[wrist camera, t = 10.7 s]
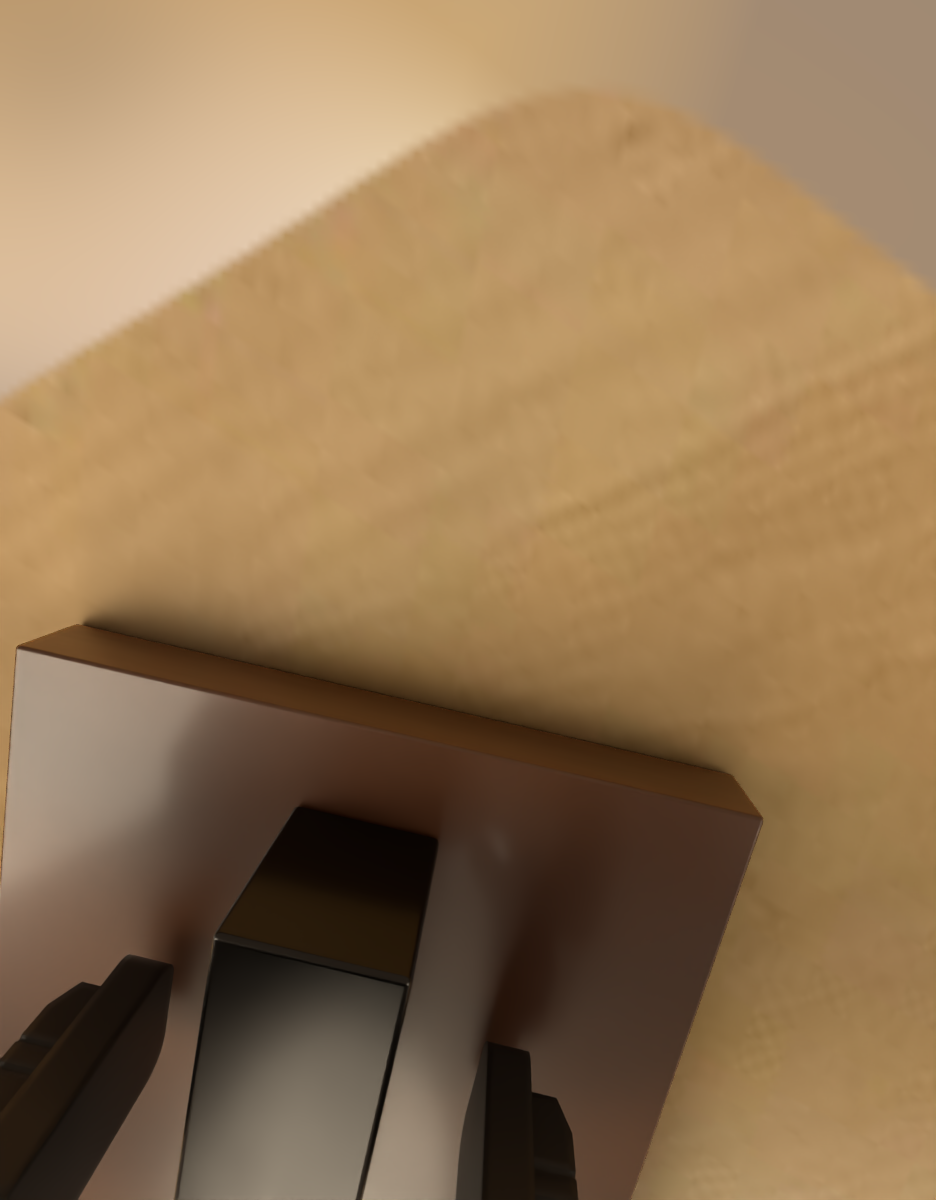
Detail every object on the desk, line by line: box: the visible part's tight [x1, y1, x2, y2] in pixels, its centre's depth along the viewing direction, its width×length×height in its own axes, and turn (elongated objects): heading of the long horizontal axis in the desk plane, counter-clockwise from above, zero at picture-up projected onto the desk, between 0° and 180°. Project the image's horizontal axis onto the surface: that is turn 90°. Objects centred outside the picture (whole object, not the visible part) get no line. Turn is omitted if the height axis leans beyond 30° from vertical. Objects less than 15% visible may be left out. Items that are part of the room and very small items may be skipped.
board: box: [0, 624, 763, 1200], centre depth 13 cm, size 18×12×2 cm, turn 168°
